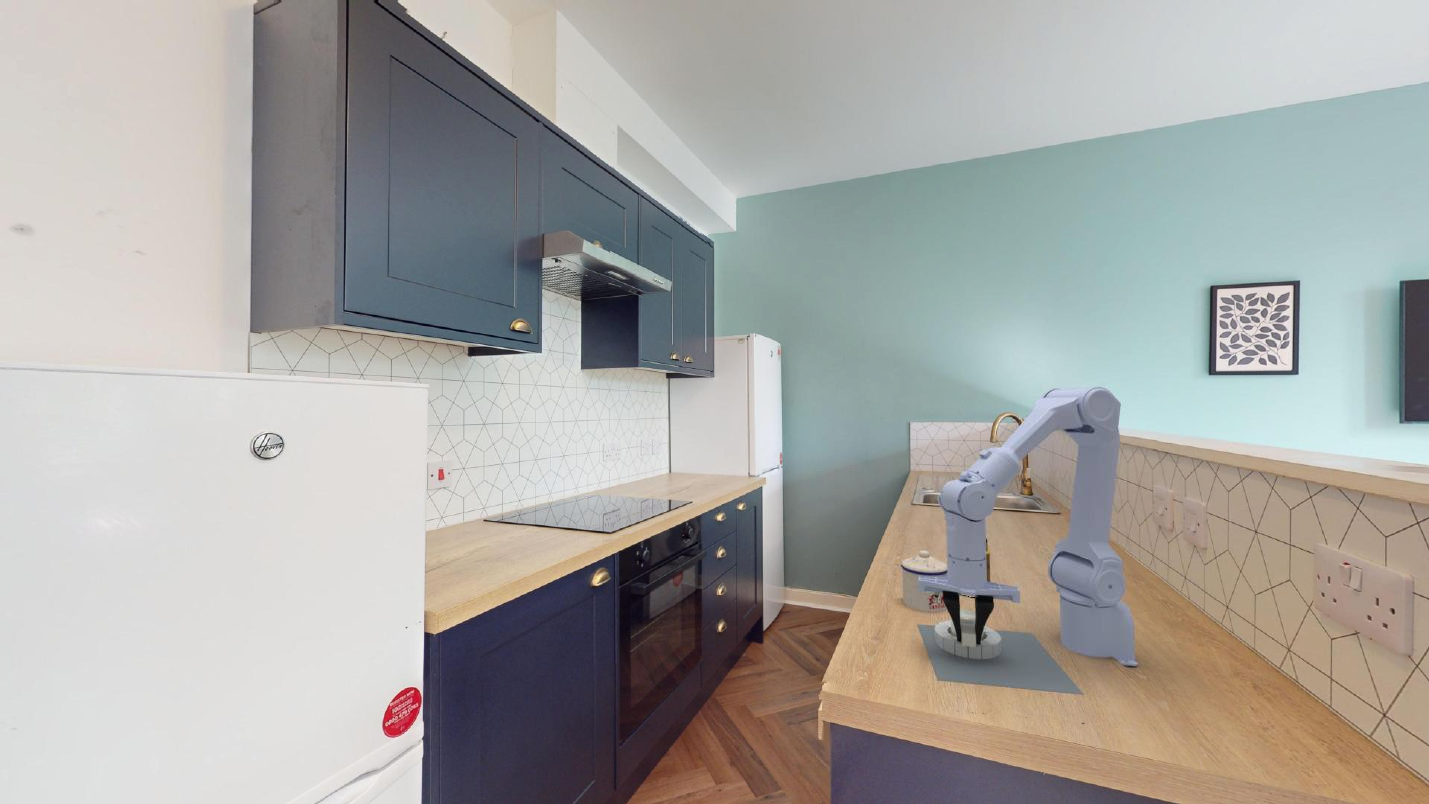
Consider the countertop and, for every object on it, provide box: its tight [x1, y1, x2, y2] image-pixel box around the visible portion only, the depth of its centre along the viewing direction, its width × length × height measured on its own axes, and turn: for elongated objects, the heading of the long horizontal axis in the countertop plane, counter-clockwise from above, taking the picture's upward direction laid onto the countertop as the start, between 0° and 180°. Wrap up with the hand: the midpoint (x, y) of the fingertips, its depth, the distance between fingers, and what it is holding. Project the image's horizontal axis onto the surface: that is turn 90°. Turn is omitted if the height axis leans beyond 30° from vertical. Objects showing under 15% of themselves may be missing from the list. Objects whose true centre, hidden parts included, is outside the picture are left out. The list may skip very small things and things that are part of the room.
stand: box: [916, 620, 1085, 696], centre depth 84 cm, size 19×20×3 cm
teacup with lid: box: [900, 550, 948, 613], centre depth 106 cm, size 12×9×12 cm
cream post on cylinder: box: [949, 608, 984, 647], centre depth 85 cm, size 9×5×5 cm, turn 157°
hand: (968, 640), depth 83 cm, fingers closed on cream post on cylinder, 2 cm apart
